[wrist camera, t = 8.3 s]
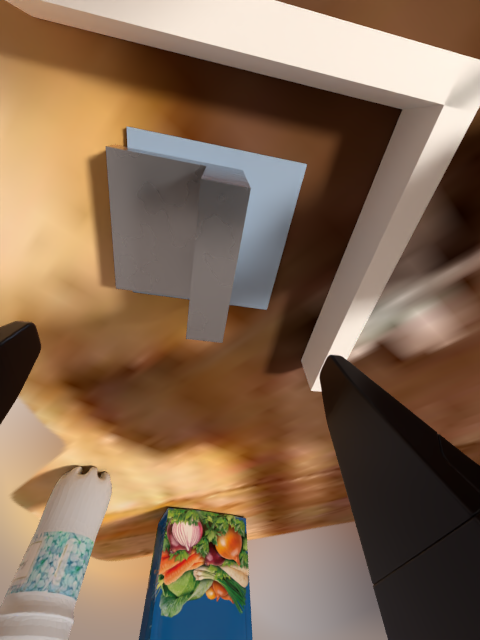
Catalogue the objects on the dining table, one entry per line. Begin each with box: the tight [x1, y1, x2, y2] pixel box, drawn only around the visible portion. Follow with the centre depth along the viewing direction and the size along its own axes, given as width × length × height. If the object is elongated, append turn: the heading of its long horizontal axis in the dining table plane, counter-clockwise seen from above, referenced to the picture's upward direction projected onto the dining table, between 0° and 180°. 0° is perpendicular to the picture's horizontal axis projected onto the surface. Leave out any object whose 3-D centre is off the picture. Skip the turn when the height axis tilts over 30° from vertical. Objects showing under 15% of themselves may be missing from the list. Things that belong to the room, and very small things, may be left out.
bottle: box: [0, 466, 112, 640], centre depth 26 cm, size 7×7×20 cm
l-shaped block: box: [5, 0, 480, 392], centre depth 17 cm, size 20×20×4 cm
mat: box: [127, 127, 307, 310], centre depth 18 cm, size 10×10×1 cm
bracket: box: [106, 145, 251, 343], centre depth 15 cm, size 8×7×6 cm
